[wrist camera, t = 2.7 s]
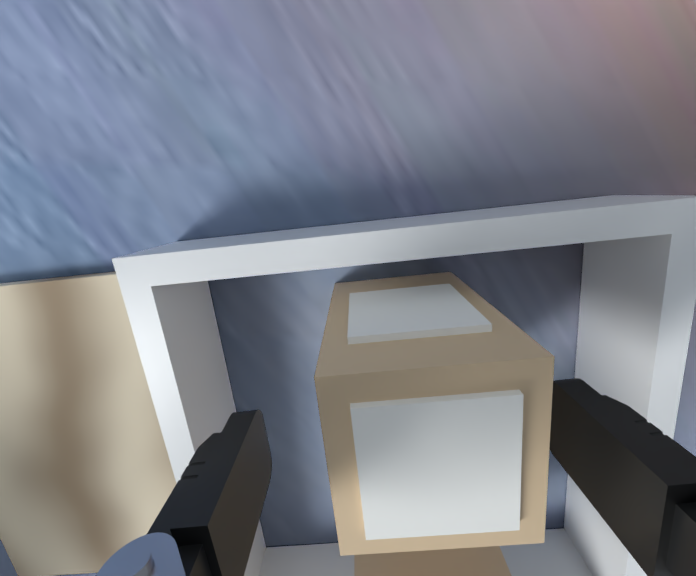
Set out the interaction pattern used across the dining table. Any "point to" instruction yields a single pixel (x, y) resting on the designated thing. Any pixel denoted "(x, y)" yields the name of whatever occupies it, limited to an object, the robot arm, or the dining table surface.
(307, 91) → the dining table surface
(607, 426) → the robot arm
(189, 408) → the bin
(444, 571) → the plain box
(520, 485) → the labelled box
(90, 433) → the board
